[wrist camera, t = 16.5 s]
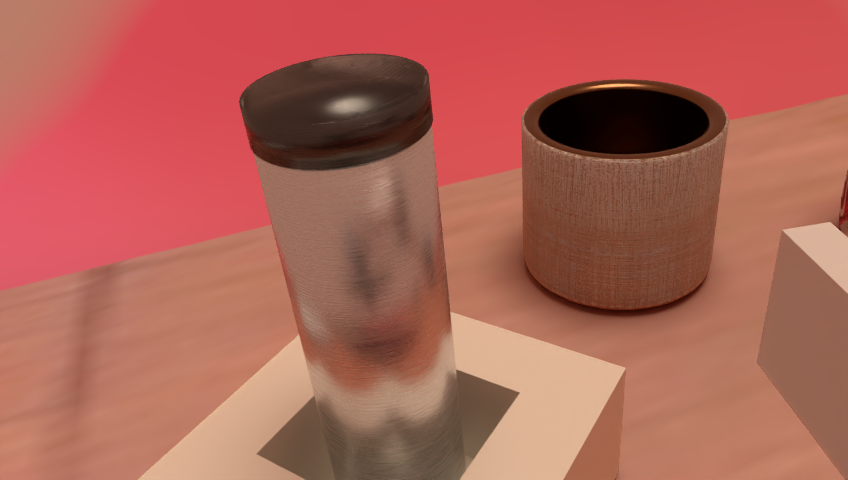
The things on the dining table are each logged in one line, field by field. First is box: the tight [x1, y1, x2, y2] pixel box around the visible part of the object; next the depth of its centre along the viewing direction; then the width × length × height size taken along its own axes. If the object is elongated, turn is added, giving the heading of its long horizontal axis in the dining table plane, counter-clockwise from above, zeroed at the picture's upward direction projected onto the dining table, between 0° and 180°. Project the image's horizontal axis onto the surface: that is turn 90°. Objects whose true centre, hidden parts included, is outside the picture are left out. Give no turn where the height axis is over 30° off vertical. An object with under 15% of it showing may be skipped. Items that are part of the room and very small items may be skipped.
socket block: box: [138, 312, 626, 480], centre depth 28 cm, size 13×13×6 cm
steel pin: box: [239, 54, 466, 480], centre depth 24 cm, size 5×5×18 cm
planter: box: [522, 79, 729, 310], centre depth 41 cm, size 11×11×10 cm
